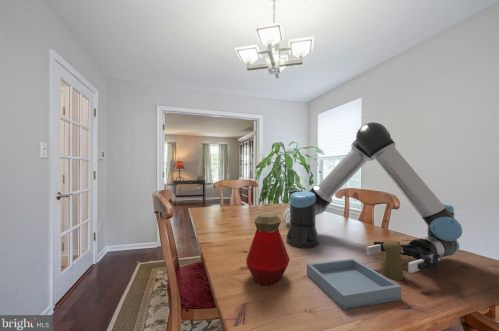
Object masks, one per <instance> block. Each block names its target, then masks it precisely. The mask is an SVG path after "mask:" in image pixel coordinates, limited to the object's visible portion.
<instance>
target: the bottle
mask: <svg viewBox="0 0 499 331" xmlns="http://www.w3.org/2000/svg"><path fill="white" fill-rule="evenodd" d="M253 221H254V225H255V228H256V230H255V233H254V236H253V239H252V242H251V244H250V247H249V250H248V252H247V256H246V259H245V262H246V266H247V268H248V271H249V272H250V274H251V277H252V278H253V280H254V282H255V283H257V284H259V285H260V286H266V287H272V286H275V285H277V284H278V283H280V281H281V280H282V278H283V276H284V274H285V271H286V270H287V268H288V266H289V264H290V260H291V259H290V257H289V254H288V252H287V249H286V248H287V247H286V246H285V243H284V240H283V238H282V236H281V232H280V230H279V228H280V224H281V222H282V220H281V218H280V217H279V216H278V215H277V214H276V213H273V212H263V214H262V213H260V214H258V215H257V217H256V218H254V219H253Z"/></svg>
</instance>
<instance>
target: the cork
mask: <svg viewBox="0 0 499 331" xmlns="http://www.w3.org/2000/svg"><path fill="white" fill-rule="evenodd" d="M383 242H384V243H383V248H384V250H385V252H384V255H383V261H382V262H383V263H382V266H381V267H382V268H381V275H382V276H384V277H386V278H388V279H389V280H396V281H402V280H404V271H403V266H402V265H403V264H402V259H401V255H400V253H401V251H402V252H403V250H402V246H401V245H400V244H401V243H400V244H399V243H398V242H399V241H394V240H385V241H383Z"/></svg>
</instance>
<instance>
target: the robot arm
mask: <svg viewBox="0 0 499 331" xmlns="http://www.w3.org/2000/svg"><path fill="white" fill-rule="evenodd" d="M396 144H397V143H396V142H395V141H394V139H392V137H391V134H390V132H389V130H388V129H387V128H386V127H385V125H383V124H382V123H379V122H372V121H371V122H368V123H365V124H363V125H362V126H360V128H359V129H358V130H357V132H356V138H355V140H354V141H353V142H352V143H351V144H350V145H351V149H350V150H349V151H348V153H347V154H345V156H344V157H343V158H342V159H341V160H340V161H339V162H338V163H337V165H335V167H334V168H333V169H332V170H331V171H330V172H329V173H328V175H327V176H326V177H325V178H323V180H322V181H321V182H320V183H319V184H318V185H313V187H311V188H310V190H307V191H296V192H292V193H291V195H290V198H289V227H288V231H287V233H286V236H285V237H286V239H285V240H286V243H287V244H288V245H290V246H293V247H297V248H303V249H311V248H317V247H318V246H319V245H320V237H319V235H318V231H317V228H316V216H318V215H320V214H322V213H324V212H325V211H326V210H327V208H328V206H329V205H330V204H331V203H332V202H333V197H334V196H335V194H336V193H338V191H340V189H342V187H343V186H345V185H346V183H347V182H348V181H350V179H351V178H352V177H353V176H354V175H355V174H356V173H357V172H358V171H359V170H360V169H361V168H362V167H363V166H364V165H365V164H366V163H367V162H368V161H369V162H370V161H374V160H376V161H377V163H378V164H379V165H380V166H381V168H382V169H383V170H384V171H385V173H386V174H387V175H388V177H389V178H390V180H392V182H393V183H394V184H395V185H396V187H397V188H398V190H400V192H401V194H403V196H404V197H405V198H406V199H407V201H408V202H409V203H410V205H411V206H412V207H413V208H414V210H416V212H417V214H418V215H419V216H420V217H421V218H422V220H423V221H424V223H425V224H426V225H427V236H426V237H420V238H415V239H413V240H410V242H409V243H406V244H401V242H400V241H397V242H398V243H399V244H400V245H401V246H402V251H401V253H400V256H408V257H412V258H414V260H413V261H410V262H408V264H407V272H408V273H410V274H412V273H416V272H418V271H425V270H429V271H430V270H432V272H435V273H439V272H440V271H439V264H440V263H441V258H444V257H448V256H449V257H450V256H452V255H454V254H456V253H458V251H459V250H460V243H459V241H458V239H460V238H461V237H462V234H463V228H462V224H461V223H460V222H459V221H458V220H457V219H456V218H455V212H454V209H455V208H454V206H452V205H450V204H443V202H441V200H440V199H439V198H438V197H437V196H436V194H435V193H434V192H433V191H432V190H431V188H430V187H429V186H428V185H427V184H426V182H425V181H424V180H423V179H422V178H421V177H420V175H419V174H418V173H417V172H416V171H415V169H414V168H413V167H412V166H411V165H410V164H409V162H408V161H407V160H406V159H405V158H404V156H403V155H402V154H401V153H400V152H399V151H398V150H397V148H396V146H397V145H396ZM384 242H385V241H373V245H369V246H366V255H367V256H371V255H376V254H380V253H382V252H383V253H385V250H384V248H383V243H384Z"/></svg>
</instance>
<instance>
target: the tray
mask: <svg viewBox="0 0 499 331" xmlns="http://www.w3.org/2000/svg"><path fill="white" fill-rule="evenodd" d="M306 275H307V276H308V277H309V278H310V279H311V280H312V281H313V282H314V284H316V285H317V286H318V287H319V288H320V289H321V290H322V291H323V292H324V293H325V294H326V295H328V296H329V298H330V299H331V300H333V301H334V303H336V305H338V306H339V307H340V308H341V309H342V310H343V311H346V310H350V309H349V308H352V309H358V308H362V306H363V307H367V306H368V305H369V306H372V305H373V304H374V305H378V304H379V303H380V304H384V303H388V302H389V303H390V302H391V303H392V302H395V301H396V302H397V301H401V300H402V286H401V285H399V284H398V283H396V282H394V281H393V280H392V279H390V278H387V277H385V276H384V275H382V273H379V272H377V271H375V270H374V269H372V268H370V267H368V266H367V265H365V264H363V263H362V262H360V261H359V260H357V259H355V258H346V259H345V258H344V259H338V260H337V259H336V260H329V261H320V262H310V263H306ZM380 304H379V305H380ZM374 305H373V306H374ZM355 307H356V308H355ZM345 309H346V310H345Z"/></svg>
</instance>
